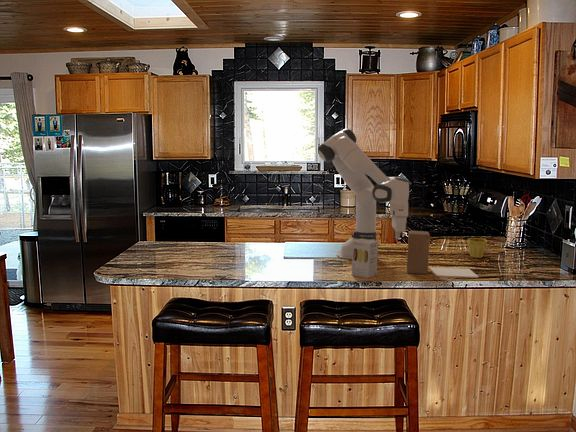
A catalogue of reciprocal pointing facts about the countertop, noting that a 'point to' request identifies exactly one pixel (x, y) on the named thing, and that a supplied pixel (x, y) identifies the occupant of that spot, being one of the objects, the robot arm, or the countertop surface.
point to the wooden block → (418, 252)
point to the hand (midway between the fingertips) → (397, 238)
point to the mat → (453, 272)
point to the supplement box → (364, 258)
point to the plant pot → (477, 247)
